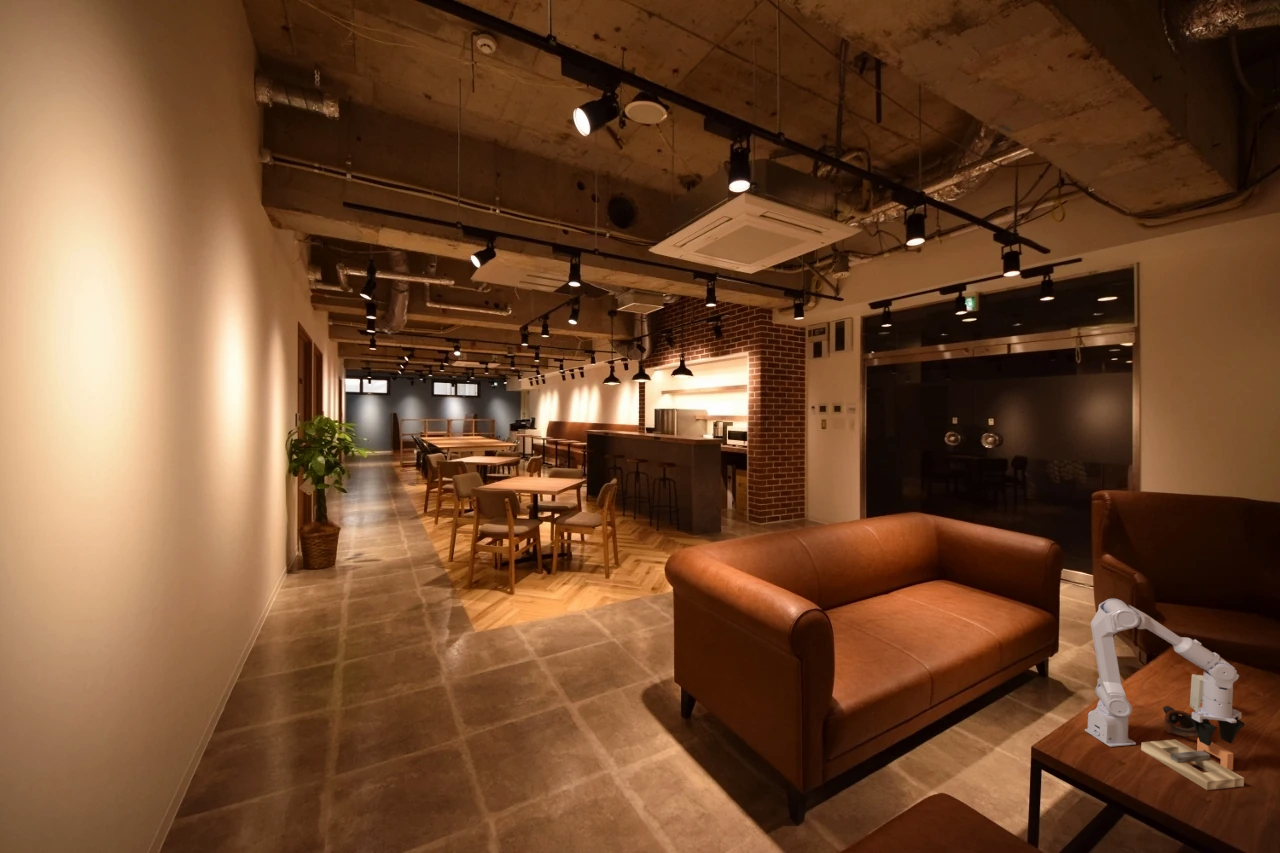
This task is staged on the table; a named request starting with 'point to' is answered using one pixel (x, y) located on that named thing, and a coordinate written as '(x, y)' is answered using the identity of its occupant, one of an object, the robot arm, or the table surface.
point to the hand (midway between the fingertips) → (1215, 742)
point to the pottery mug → (1185, 722)
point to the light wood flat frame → (1179, 753)
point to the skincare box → (1196, 692)
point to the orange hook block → (1217, 753)
